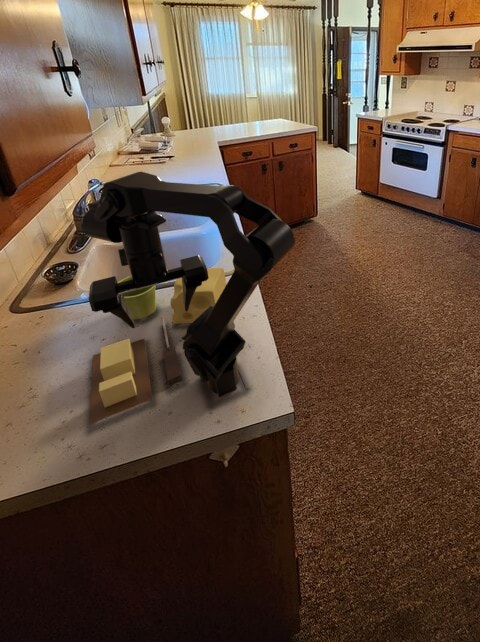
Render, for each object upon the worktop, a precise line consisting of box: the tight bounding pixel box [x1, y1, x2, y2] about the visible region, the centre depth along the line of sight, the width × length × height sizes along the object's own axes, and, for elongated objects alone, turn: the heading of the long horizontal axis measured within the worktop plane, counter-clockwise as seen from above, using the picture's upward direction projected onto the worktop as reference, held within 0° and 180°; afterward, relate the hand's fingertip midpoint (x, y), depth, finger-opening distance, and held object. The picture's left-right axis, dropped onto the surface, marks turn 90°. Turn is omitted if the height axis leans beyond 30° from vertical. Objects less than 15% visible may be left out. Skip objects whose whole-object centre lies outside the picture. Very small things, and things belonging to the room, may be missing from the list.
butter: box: [100, 338, 135, 381], centre depth 68 cm, size 6×5×4 cm
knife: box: [160, 316, 183, 386], centre depth 73 cm, size 18×2×3 cm, turn 29°
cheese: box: [170, 267, 227, 325], centre depth 84 cm, size 10×11×10 cm
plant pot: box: [117, 275, 157, 320], centre depth 83 cm, size 9×9×9 cm
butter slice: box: [99, 372, 137, 407], centre depth 62 cm, size 2×5×4 cm, turn 120°
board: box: [88, 338, 153, 425], centre depth 67 cm, size 17×10×1 cm, turn 29°
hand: (160, 318), depth 66 cm, fingers open, 9 cm apart
